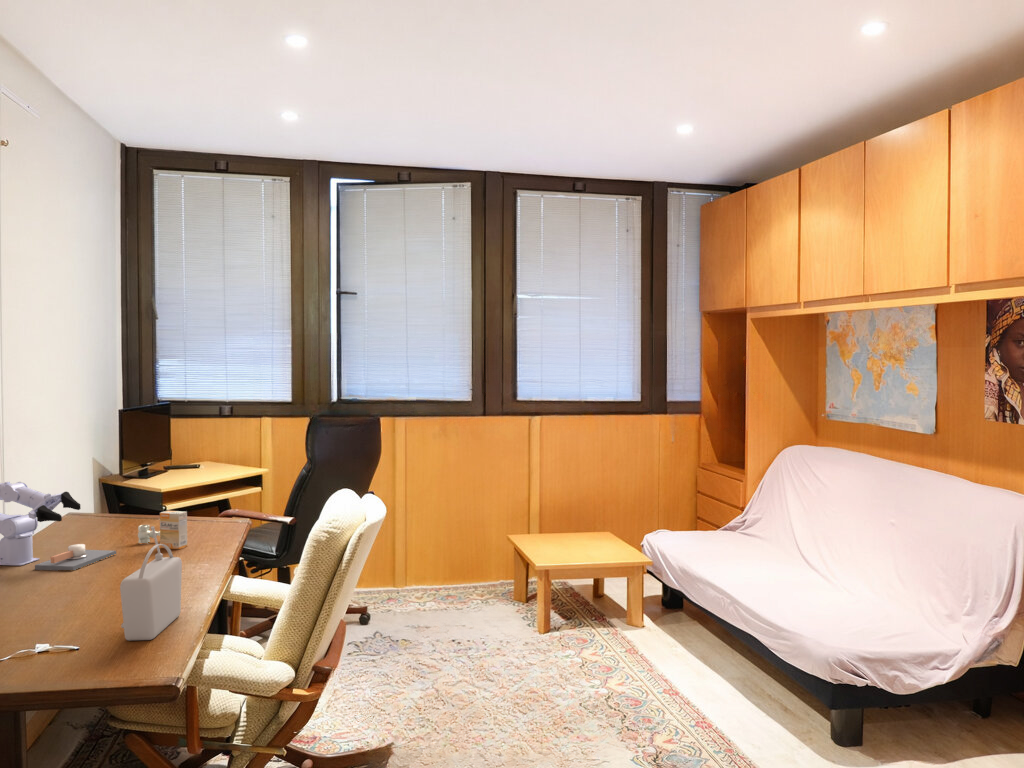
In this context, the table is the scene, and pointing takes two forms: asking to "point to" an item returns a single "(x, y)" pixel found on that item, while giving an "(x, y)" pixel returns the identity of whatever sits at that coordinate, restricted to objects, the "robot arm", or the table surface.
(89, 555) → the base plate
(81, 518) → the table surface
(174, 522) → the supplement box
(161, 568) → the grey handbag
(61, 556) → the handle
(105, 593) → the table surface
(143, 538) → the valve
